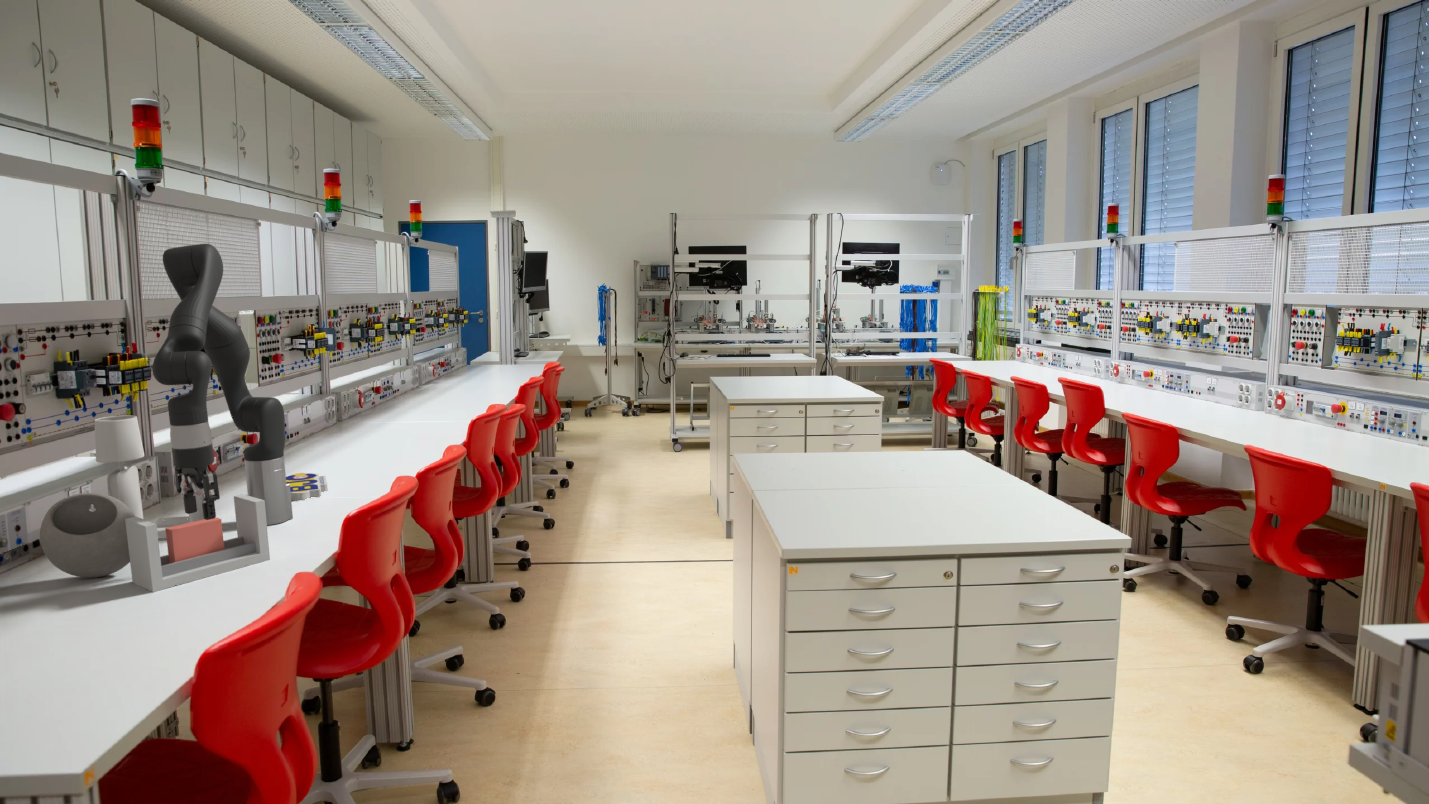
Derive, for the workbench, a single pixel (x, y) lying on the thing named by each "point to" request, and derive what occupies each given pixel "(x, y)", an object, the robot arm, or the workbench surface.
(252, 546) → the u-shaped grey holder
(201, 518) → the wall lamp
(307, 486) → the sign
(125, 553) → the planter
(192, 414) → the robot arm
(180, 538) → the red rectangular block
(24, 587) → the workbench surface
